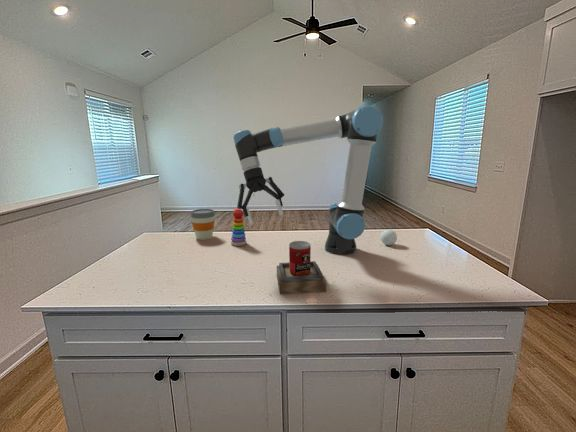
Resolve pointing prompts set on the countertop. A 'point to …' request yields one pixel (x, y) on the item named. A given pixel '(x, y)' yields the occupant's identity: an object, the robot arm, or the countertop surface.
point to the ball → (388, 237)
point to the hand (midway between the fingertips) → (266, 219)
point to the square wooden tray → (300, 280)
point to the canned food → (299, 258)
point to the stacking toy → (238, 229)
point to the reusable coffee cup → (203, 223)
